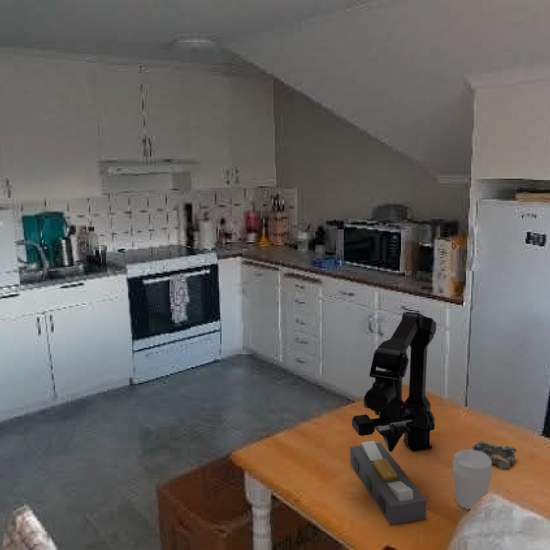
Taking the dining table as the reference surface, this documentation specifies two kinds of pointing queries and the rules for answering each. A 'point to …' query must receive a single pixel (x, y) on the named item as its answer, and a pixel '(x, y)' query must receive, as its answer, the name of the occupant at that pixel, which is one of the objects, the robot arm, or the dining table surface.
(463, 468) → the cup
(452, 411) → the dining table surface
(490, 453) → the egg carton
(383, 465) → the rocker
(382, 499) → the rocker switch panel
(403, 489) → the rocker
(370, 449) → the rocker
